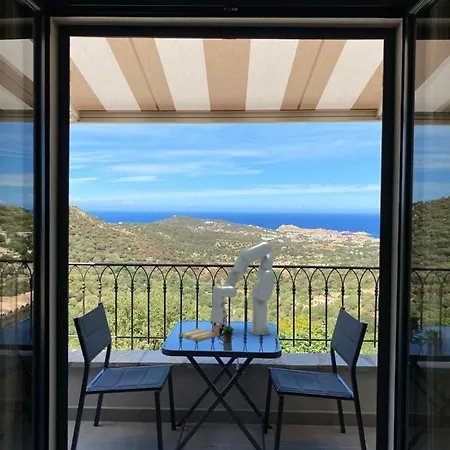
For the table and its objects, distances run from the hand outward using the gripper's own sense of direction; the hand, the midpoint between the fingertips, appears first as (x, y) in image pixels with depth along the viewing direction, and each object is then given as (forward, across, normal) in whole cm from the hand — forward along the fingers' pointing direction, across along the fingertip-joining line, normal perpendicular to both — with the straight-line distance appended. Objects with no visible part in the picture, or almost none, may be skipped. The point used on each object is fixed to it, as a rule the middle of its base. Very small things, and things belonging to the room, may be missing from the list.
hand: (217, 332), depth 254 cm
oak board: (+1, +5, +13) cm, 14 cm away
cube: (+1, 0, 0) cm, 1 cm away
